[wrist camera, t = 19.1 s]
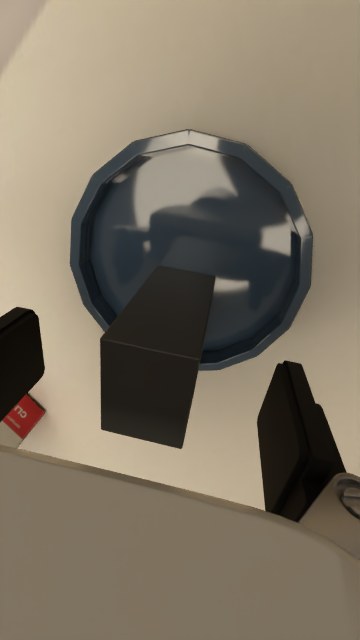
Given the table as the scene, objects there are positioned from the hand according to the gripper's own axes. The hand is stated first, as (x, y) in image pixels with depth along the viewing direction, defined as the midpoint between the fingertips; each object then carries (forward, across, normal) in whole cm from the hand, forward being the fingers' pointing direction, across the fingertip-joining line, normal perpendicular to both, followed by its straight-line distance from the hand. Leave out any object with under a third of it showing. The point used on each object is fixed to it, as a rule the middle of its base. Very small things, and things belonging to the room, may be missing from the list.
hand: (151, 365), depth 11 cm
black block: (+5, 0, 0) cm, 5 cm away
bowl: (+6, 0, -2) cm, 6 cm away
